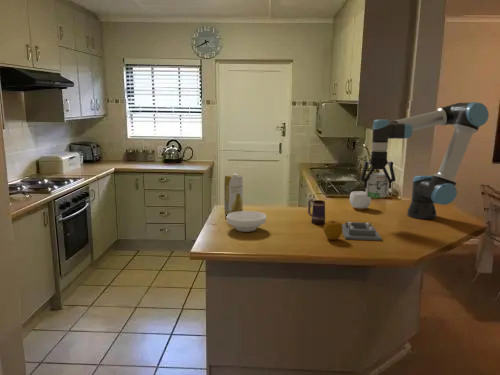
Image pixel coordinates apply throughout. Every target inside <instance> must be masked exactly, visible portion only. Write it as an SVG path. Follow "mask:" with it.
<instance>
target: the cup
mask: <svg viewBox="0 0 500 375" xmlns="http://www.w3.org/2000/svg"><path fill="white" fill-rule="evenodd" d="M371 202H372V197H368V195H366V191H362V190H359V191H358V190H357V191H355V190H354V191H351V192H350V195H349V203H350V205H351V206H352V207H353V208H354V209H355V210H359V211H364V210H365V209H367V208H369V207H370V204H371Z"/></svg>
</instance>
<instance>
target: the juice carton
mask: <svg viewBox="0 0 500 375" xmlns="http://www.w3.org/2000/svg"><path fill="white" fill-rule="evenodd" d="M223 179H224V182H223V184H224V186H223V187H224V188H223V190H224V192H223V193H224V194H223V195H224V198H223V200H224V201H223V202H224V203H223V204H224V209H223V210H224V216H225V215H228V214H229V213H232V212H238V211H244V210H243V207H244V206H243V205H244V204H243V200H244V199H243V198H244V197H243V196H244V195H243V194H244V193H243V191H244V190H243V188H244V185H243V182H244V181H243V175H241V174H238V173H233V174H232V175H224V178H223Z"/></svg>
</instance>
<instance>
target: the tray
mask: <svg viewBox="0 0 500 375" xmlns="http://www.w3.org/2000/svg"><path fill="white" fill-rule="evenodd" d="M342 227H343V229H342V234H343V237H344V239H345V240H358V241H360V240H361V241H381V242H382V237H381V235H380V234H379V233H378V231H377V230H376V228H375V226H373V225H372V223H371V222H358V221H357V222H353V221H345V224H342Z"/></svg>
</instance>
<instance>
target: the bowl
mask: <svg viewBox="0 0 500 375" xmlns="http://www.w3.org/2000/svg"><path fill="white" fill-rule="evenodd" d="M225 217H226V221H227V223H228V224H229V225H231V226H232V227H234V228H235V229H236V230H237V231H238V232H250V233H251V232H255V230H257V229H258V228H259V227H260V226H262V225H263V224H265V223H266V220H267V215H266V214H265V213H263V212H260V211H255V210H254V211H253V210H243V211H238V212H232V213H229V214H228V215H227V216H225Z"/></svg>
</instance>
